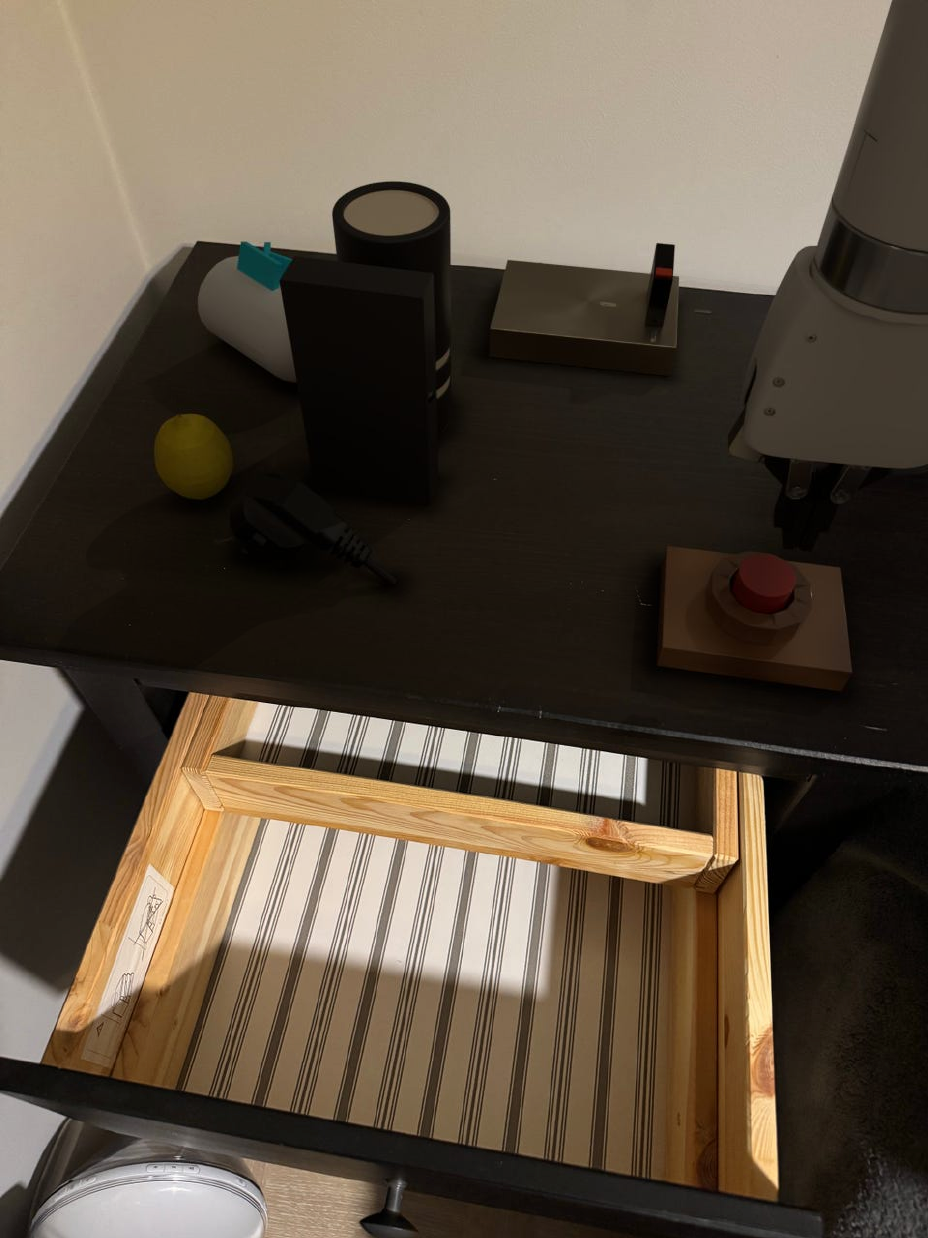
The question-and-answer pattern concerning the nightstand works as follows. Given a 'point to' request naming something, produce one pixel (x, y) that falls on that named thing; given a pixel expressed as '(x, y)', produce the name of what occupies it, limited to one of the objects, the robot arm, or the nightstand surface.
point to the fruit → (193, 456)
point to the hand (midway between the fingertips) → (795, 533)
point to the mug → (250, 307)
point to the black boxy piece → (660, 284)
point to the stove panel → (582, 319)
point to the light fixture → (376, 343)
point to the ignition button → (763, 583)
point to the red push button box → (751, 623)
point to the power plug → (294, 523)
